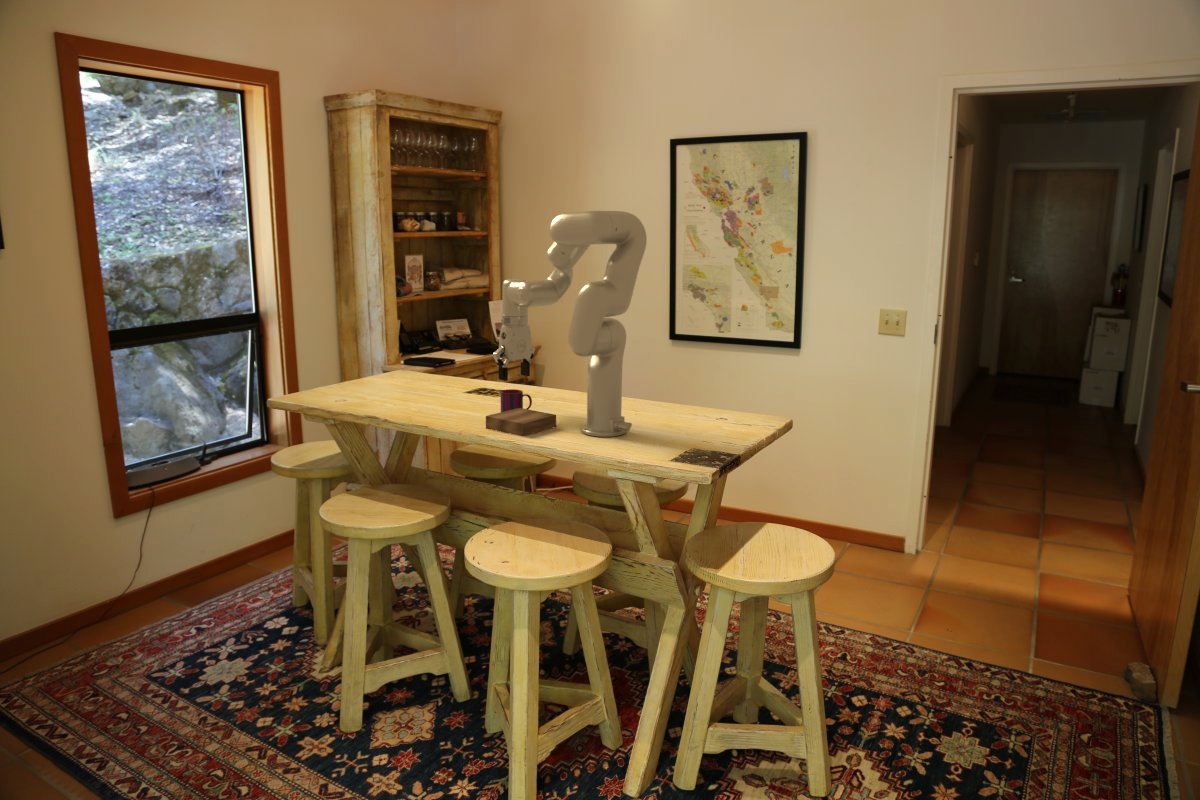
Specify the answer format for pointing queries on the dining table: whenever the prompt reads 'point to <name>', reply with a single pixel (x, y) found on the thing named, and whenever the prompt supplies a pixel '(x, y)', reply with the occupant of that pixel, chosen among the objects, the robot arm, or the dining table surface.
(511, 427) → the walnut block
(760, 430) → the dining table surface
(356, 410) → the dining table surface
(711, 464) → the dining table surface
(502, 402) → the mug
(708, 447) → the dining table surface
